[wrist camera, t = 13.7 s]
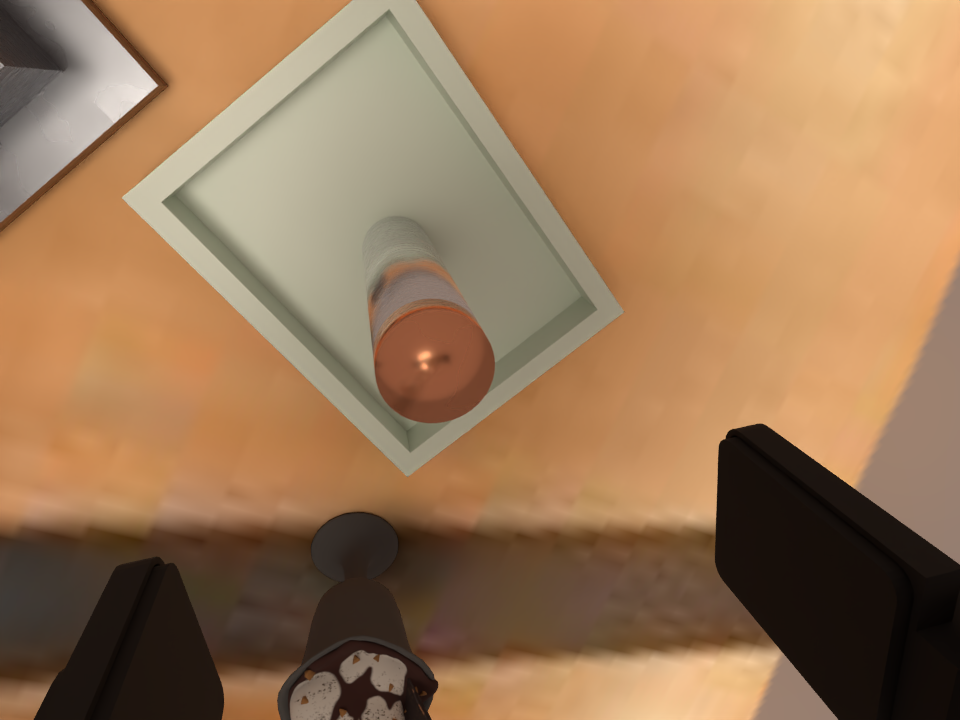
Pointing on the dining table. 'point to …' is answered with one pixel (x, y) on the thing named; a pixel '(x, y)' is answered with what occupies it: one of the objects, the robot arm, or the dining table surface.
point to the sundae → (357, 635)
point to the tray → (374, 215)
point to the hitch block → (61, 93)
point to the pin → (421, 327)
